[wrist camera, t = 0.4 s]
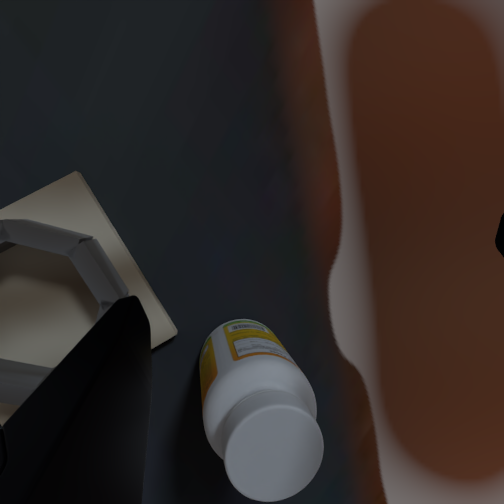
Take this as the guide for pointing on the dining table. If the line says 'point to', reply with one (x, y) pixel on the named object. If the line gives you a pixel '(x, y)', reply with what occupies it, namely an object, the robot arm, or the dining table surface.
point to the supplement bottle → (258, 411)
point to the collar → (60, 283)
